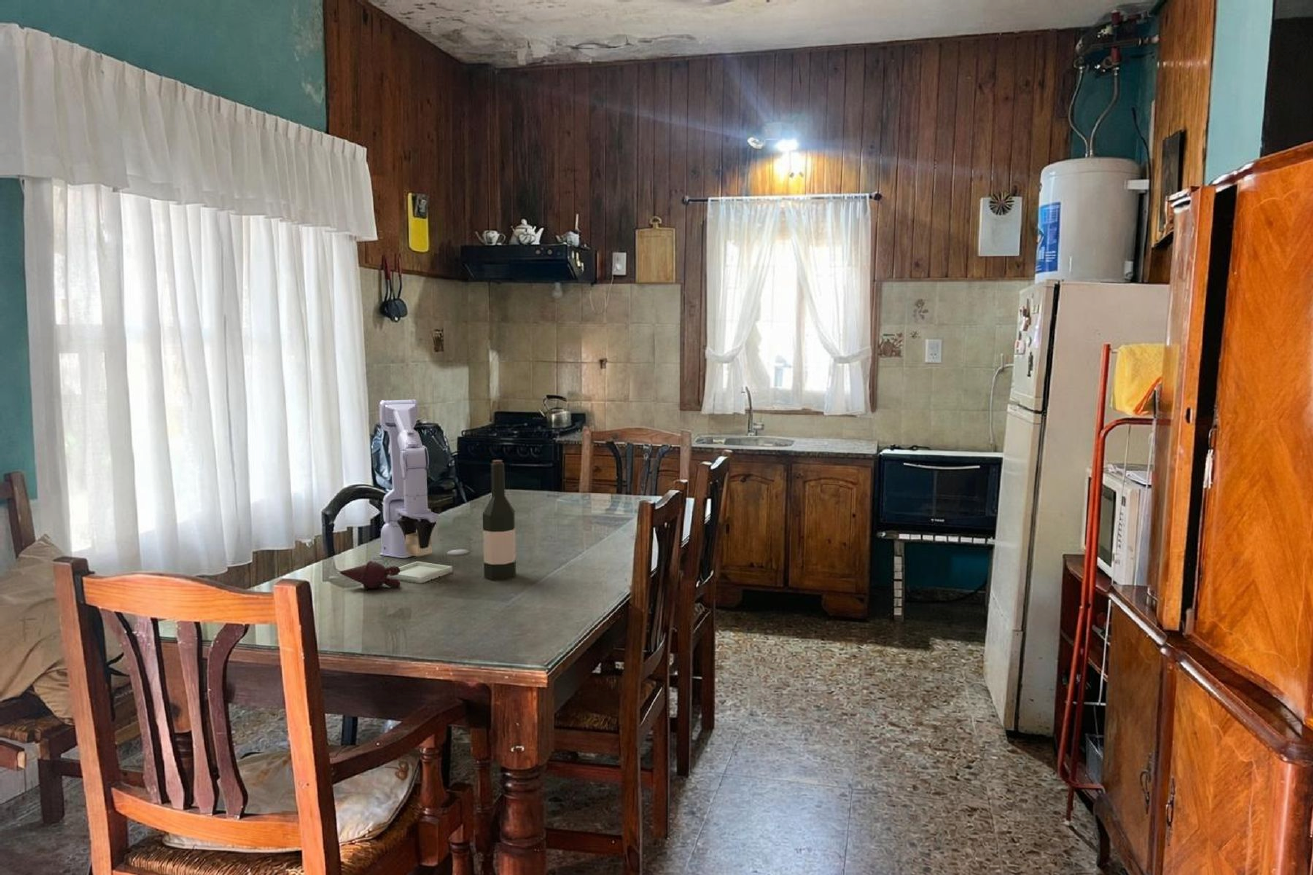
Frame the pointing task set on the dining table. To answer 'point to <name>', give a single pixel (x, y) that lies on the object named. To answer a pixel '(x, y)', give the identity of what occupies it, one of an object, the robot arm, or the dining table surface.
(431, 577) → the tray
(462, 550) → the pad
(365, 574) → the icecream
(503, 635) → the dining table surface
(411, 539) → the block
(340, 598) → the dining table surface
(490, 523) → the wine bottle
